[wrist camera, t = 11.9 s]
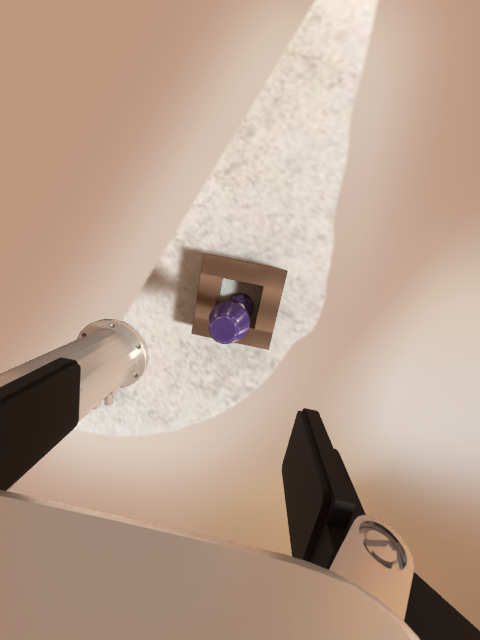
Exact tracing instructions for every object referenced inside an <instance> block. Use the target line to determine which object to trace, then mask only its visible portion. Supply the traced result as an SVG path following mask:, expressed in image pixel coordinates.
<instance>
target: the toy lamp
mask: <svg viewBox="0 0 480 640" xmlns="http://www.w3.org/2000/svg"><path fill="white" fill-rule="evenodd" d="M252 311H253V302H252V300H251V299H250V297H249V296H247V295H245V294H240V293H239V294H235V295H233V296H232V297H231V298H230V299H229V301H227V302H222V303H220V304H218V305H216V306H215V307H214V308H213V309H212V311H211V312H210V315H209V319H208V327H209V333H210V335H211V337H212V338H213V339H214V340H215V341H216V342H218V343H221V344H229V343H233V342H237V341H239V340H241V339H242V338H243V337H244V336H245V335H246V334H247V332H248V330H249V327H250V318H249V316H250V315H251V313H252Z"/></svg>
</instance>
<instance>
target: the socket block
mask: <svg viewBox="0 0 480 640" xmlns="http://www.w3.org/2000/svg"><path fill="white" fill-rule="evenodd" d="M286 275H287V270H283V269H278V268H273V267H269V266H264V265H259V264H254V263H249V262H244V261H239V260H234V259H229V258H224V257H219V256H214V255H209V254H204V256H203V262H202V269H201V275H200V282H199V288H198V295H197V301H196V308H195V314H194V321H193V327H192V334H196V335H200V336H205V337H210V338H212V337H211V335H210V333H209V327H208V319H209V315H210V312H211V311H212V309H213V308H214V307H215V306H216V305H218V302H219V297H220V291H221V285H222V280H223V278H226V279H231V280H236V281H241V282H246V283H251V284H256V285H260V286H263V287H262V292H261V296H260V301H259V306H258V310H257V315H256V319H255V322H250V327H249V330H248V332H247V334H246V335H245V336H244V337H243V338H242V339H241V340H239V341H237V342H234V343H239V344H243V345H248V346H253V347H258V348H263V349H267V350H269V346H270V342H271V338H272V333H273V329H274V325H275V321H276V317H277V313H278V309H279V304H280V300H281V296H282V292H283V288H284V284H285V279H286Z"/></svg>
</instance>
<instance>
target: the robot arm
mask: <svg viewBox="0 0 480 640" xmlns="http://www.w3.org/2000/svg"><path fill="white" fill-rule="evenodd" d="M147 363H148V352H147V348H146V345H145V343H144V341H143V339H142V338H141V336H140V335H139V333H138V332H137V331H135V330H134V329H133V328H132V327H131V326H129V325H128V324H126V323H123V322H121V321H118V320H113V319H104V320H99V321H96V322H93V323H91V324H89V325H88V326H86V327H85V328H84V329H83V330H82V331H81V332H80V334H79V336H78V338H77V340H76V341H73V342H71V343H69V344H67V345H64V346H62V347H60V348H57V349H55V350H53V351H51V352H48V353H46V354H44V355H42V356H39V357H37V358H35V359H33V360H30V361H28V362H26V363H24V364H21V365H19V366H17V367H14V368H12V369H10V370H8V371H5V372H3V373H1V374H0V640H480V631H479V630H478V629H477V628H476V627H474V626H473V625H472V624H471V623H470V622H469V621H468V620H467V619H466V618H464V617H463V616H462V615H461V614H460V613H459V612H458V611H457V610H456V609H455V608H453V607H452V606H451V605H450V604H449V603H448V602H447V601H445V600H444V599H443V598H442V597H441V596H440V595H439V594H438V593H437V592H436V591H434V590H433V589H432V588H431V587H430V586H429V585H428V584H427V583H426V582H425V581H423V580H422V579H421V578H420V577H419V576H418V575H417V574H416V573H415V572H414V561H413V558H412V555H411V552H410V550H409V549H408V547H407V545H406V543H405V542H404V541H403V539H402V538H401V537H400V536H399V535H398V533H397V532H395V531H394V530H393V529H392V528H391V527H390V526H389V525H387V524H386V523H384V522H383V521H381V520H380V519H377V518H375V517H373V516H368V515H366V514H365V512H364V510H363V507H362V505H361V503H360V501H359V498H358V496H357V494H356V491H355V489H354V486H353V484H352V482H351V480H350V477H349V475H348V473H347V470H346V468H345V466H344V464H343V461H342V459H341V456H340V454H339V452H338V451H337V450H336V449H333V446H332V444H331V441H330V439H329V436H328V434H327V432H326V429H325V427H324V424H323V422H322V419H321V417H320V414H319V412H318V411H315V410H310V409H305V408H304V409H303V410H302V411H298V413H297V416H296V419H295V423H294V426H293V429H292V433H291V437H290V440H289V443H288V447H287V450H286V454H285V457H284V461H283V465H282V476H283V484H284V492H285V501H286V508H287V517H288V525H289V533H290V542H291V549H292V557H291V556H288V555H285V554H281V553H277V552H273V551H269V550H265V549H261V548H257V547H253V546H249V545H244V544H241V543H237V542H233V541H229V540H224V539H220V538H215V537H211V536H207V535H202V534H198V533H193V532H189V531H184V530H180V529H176V528H171V527H167V526H163V525H158V524H154V523H149V522H145V521H140V520H136V519H131V518H127V517H122V516H118V515H113V514H109V513H104V512H99V511H95V510H90V509H86V508H81V507H77V506H72V505H68V504H63V503H59V502H54V501H49V500H44V499H40V498H35V497H31V496H26V495H21V494H17V493H12V492H9V490H10V489H11V488H12V487H13V486H14V484H15V483H16V482H17V481H18V480H19V479H20V478H21V477H22V476H23V475H24V474H25V473H26V472H27V471H28V470H29V469H31V468H32V467H33V466H34V465H35V464H36V463H37V462H38V461H39V460H40V459H41V458H42V457H44V456H45V455H46V454H47V453H48V452H49V451H50V450H51V449H52V448H53V447H54V446H56V445H57V444H58V443H59V442H60V441H61V440H62V439H63V438H64V437H65V436H66V435H67V434H69V433H70V431H72V430H73V429H74V428H75V427H76V425H77V423H78V422H79V421H80V420H81V419H82V418H83V417H84V416H85V415H86V414H88V413H89V412H90V411H91V410H92V409H97V408H99V407H100V406H101V401H102V400H103V399H104V398H105V399H104V404H105V405H111V404H113V398H114V396H113V394H114V393H115V392H116V391H117V390H118V389H119V388H123V387H127V386H129V385H131V384H133V383H135V382H136V381H137V380H138V379H139V378H140V377H141V376H142V375H143V373H144V372H145V370H146V367H147Z"/></svg>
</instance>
